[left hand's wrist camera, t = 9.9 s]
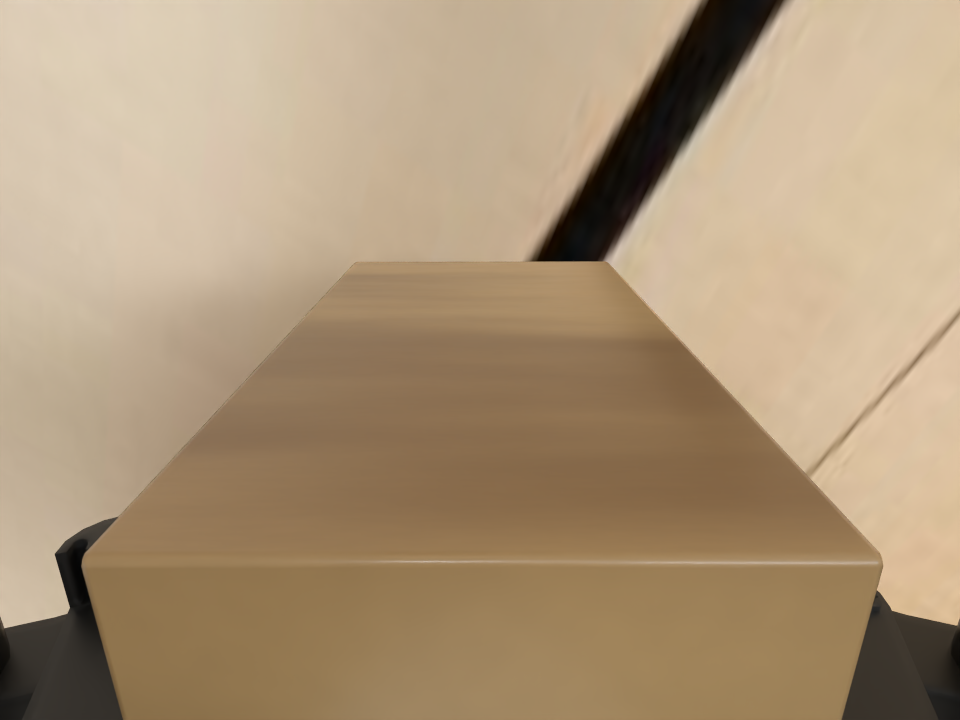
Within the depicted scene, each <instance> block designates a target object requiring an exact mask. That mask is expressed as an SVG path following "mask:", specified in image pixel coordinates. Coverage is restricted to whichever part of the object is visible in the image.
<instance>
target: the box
mask: <svg viewBox="0 0 960 720" xmlns="http://www.w3.org/2000/svg"><path fill="white" fill-rule="evenodd" d="M81 567H82V571H83V575H84V578H85V582H86V586H87V589H88V593H89V597H90V600H91V604H92V608H93V611H94V615H95V619H96V622H97V626H98V630H99V633H100V637H101V641H102V644H103V648H104V652H105V655H106V659H107V663H108V666H109V670H110V674H111V677H112V681H113V685H114V688H115V692H116V696H117V699H118V703H119V707H120V710H121V714H122V718H123V720H842V716H843V713H844V709H845V705H846V701H847V698H848V694H849V690H850V687H851V683H852V679H853V676H854V672H855V668H856V665H857V661H858V657H859V653H860V650H861V646H862V642H863V639H864V635H865V631H866V628H867V624H868V620H869V617H870V613H871V609H872V606H873V602H874V598H875V594H876V591H877V587H878V583H879V580H880V576H881V572H882V569H883V562H882V558H881V555H880V553H879V552H878V551H877V550H876V549H875V547H874V546H873V545H872V544H871V543H870V542H869V541H868V540H867V539H866V538H865V537H864V536H863V535H862V534H861V533H860V531H859V530H858V529H857V528H856V527H855V526H854V525H853V524H852V523H851V522H850V521H849V520H848V519H847V518H846V516H845V515H844V514H843V513H842V512H841V511H840V510H839V509H838V508H837V507H836V506H835V505H834V504H833V503H832V502H831V500H830V499H829V498H828V497H827V496H826V495H825V494H824V493H823V492H822V491H821V490H820V489H819V488H818V487H817V485H816V484H815V483H814V482H813V481H812V480H811V479H810V478H809V477H808V476H807V475H806V474H805V473H804V472H803V471H802V469H801V468H800V467H799V466H798V465H797V464H796V463H795V462H794V461H793V460H792V459H791V458H790V457H789V456H788V454H787V453H786V452H785V451H784V450H783V449H782V448H781V447H780V446H779V445H778V444H777V443H776V442H775V441H774V439H773V438H772V437H771V436H770V435H769V434H768V433H767V432H766V431H765V430H764V429H763V428H762V427H761V426H760V425H759V423H758V422H757V421H756V420H755V419H754V418H753V417H752V416H751V415H750V414H749V413H748V412H747V411H746V410H745V408H744V407H743V406H742V405H741V404H740V403H739V402H738V401H737V400H736V399H735V398H734V397H733V396H732V395H731V394H730V392H729V391H728V390H727V389H726V388H725V387H724V386H723V385H722V384H721V383H720V382H719V381H718V380H717V379H716V377H715V376H714V375H713V374H712V373H711V372H710V371H709V370H708V369H707V368H706V367H705V366H704V365H703V364H702V362H701V361H700V360H699V359H698V358H697V357H696V356H695V355H694V354H693V353H692V352H691V351H690V350H689V349H688V348H687V346H686V345H685V344H684V343H683V342H682V341H681V340H680V339H679V338H678V337H677V336H676V335H675V334H674V333H673V331H672V330H671V329H670V328H669V327H668V326H667V325H666V324H665V323H664V322H663V321H662V320H661V319H660V318H659V317H658V315H657V314H656V313H655V312H654V311H653V310H652V309H651V308H650V307H649V306H648V305H647V304H646V303H645V302H644V300H643V299H642V298H641V297H640V296H639V295H638V294H637V293H636V292H635V291H634V290H633V289H632V288H631V287H630V286H629V284H628V283H627V282H626V281H625V280H624V279H623V278H622V277H621V276H620V275H619V274H618V273H617V272H616V271H615V269H614V268H613V267H612V266H611V265H610V264H609V263H607V262H356V263H354V264H353V265H352V266H351V267H350V269H349V270H348V271H347V272H346V273H345V274H344V275H343V276H342V277H341V278H340V279H339V280H338V281H337V283H336V284H335V285H334V286H333V287H332V288H331V289H330V290H329V291H328V292H327V293H326V294H325V295H324V297H323V298H322V299H321V300H320V301H319V302H318V303H317V304H316V305H315V306H314V307H313V308H312V309H311V310H310V312H309V313H308V314H307V315H306V316H305V317H304V318H303V319H302V320H301V321H300V322H299V323H298V324H297V326H296V327H295V328H294V329H293V330H292V331H291V332H290V333H289V334H288V335H287V336H286V337H285V338H284V340H283V341H282V342H281V343H280V344H279V345H278V346H277V347H276V348H275V349H274V350H273V351H272V352H271V354H270V355H269V356H268V357H267V358H266V359H265V360H264V361H263V362H262V363H261V364H260V365H259V366H258V368H257V369H256V370H255V371H254V372H253V373H252V374H251V375H250V376H249V377H248V378H247V379H246V380H245V382H244V383H243V384H242V385H241V386H240V387H239V388H238V389H237V390H236V391H235V392H234V393H233V394H232V395H231V397H230V398H229V399H228V400H227V401H226V402H225V403H224V404H223V405H222V406H221V407H220V408H219V409H218V411H217V412H216V413H215V414H214V415H213V416H212V417H211V418H210V419H209V420H208V421H207V422H206V423H205V425H204V426H203V427H202V428H201V429H200V430H199V431H198V432H197V433H196V434H195V435H194V436H193V437H192V439H191V440H190V441H189V442H188V443H187V444H186V445H185V446H184V447H183V448H182V449H181V450H180V451H179V453H178V454H177V455H176V456H175V457H174V458H173V459H172V460H171V461H170V462H169V463H168V464H167V465H166V467H165V468H164V469H163V470H162V471H161V472H160V473H159V474H158V475H157V476H156V477H155V478H154V479H153V480H152V482H151V483H150V484H149V485H148V486H147V487H146V488H145V489H144V490H143V491H142V492H141V493H140V494H139V496H138V497H137V498H136V499H135V500H134V501H133V502H132V503H131V504H130V505H129V506H128V507H127V508H126V510H125V511H124V512H123V513H122V514H121V515H120V516H119V517H118V518H117V519H116V520H115V521H114V522H113V524H112V525H111V526H110V527H109V528H108V529H107V530H106V531H105V532H104V533H103V534H102V535H101V536H100V538H99V539H98V540H97V541H96V542H95V543H94V544H93V545H92V546H91V547H90V548H89V549H88V550H87V552H86V553H85V554H84V556H83V559H82V565H81Z"/></svg>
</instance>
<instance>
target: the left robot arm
mask: <svg viewBox="0 0 960 720" xmlns="http://www.w3.org/2000/svg"><path fill="white" fill-rule="evenodd" d="M117 518H118V517H116V518H112V519H108V520H104V521H102V522H99V523H97V524H95V525H92V526H90V527H87V528H85V529H83V530H81V531H80V532H78V533H77V534H75V535H74V536H72V537H71V538H70V539H68V540H67V541H65V542H64V544H63V545H62V546H61V547H60V548H59V550H58V551H57V552H56V553H55V557H56V560H57V564H58V567H59V571H60V574H61V578H62V581H63V584H64V588H65V591H66V595H67V598H68V602H69V605H70V609H69V612H68V614H65V615H62V616H58V617H55V618H50V619H45V620H41V621H36V622H32V623H27V624H22V625H18V626H13V627H9V628H4V626H3V623H2V620H1V617H0V720H123V718H122V714H121V710H120V707H119V703H118V699H117V696H116V692H115V688H114V685H113V681H112V677H111V674H110V670H109V666H108V663H107V659H106V655H105V652H104V648H103V644H102V641H101V637H100V633H99V630H98V626H97V622H96V619H95V615H94V611H93V608H92V604H91V600H90V597H89V593H88V589H87V586H86V582H85V578H84V575H83V571H82V567H81V565H82V559H83V556H84V554H85V553H86V552H87V550H88V549H89V548H90V547H91V546H92V545H93V544H94V543H95V542H96V541H97V540H98V539H99V538H100V536H101V535H102V534H103V533H104V532H105V531H106V530H107V529H108V528H109V527H110V526H111V525H112V524H113V522H114V521H115V520H116V519H117ZM842 720H960V619H959V622H958V625H957V626H955V625H950V624H946V623H941V622H937V621H932V620H927V619H923V618H918V617H913V616H909V615H905V614H901V613H898V612H894V611H892V610H891V608H890V606H889V605H888V603H887V602H886V601H885V599H884V598H883V596H882V595H881V594H880V593H879V592H878V591H876V594H875V598H874V602H873V606H872V609H871V613H870V617H869V620H868V624H867V628H866V631H865V635H864V639H863V642H862V646H861V650H860V653H859V657H858V661H857V665H856V668H855V672H854V676H853V679H852V683H851V687H850V690H849V694H848V698H847V701H846V705H845V709H844V713H843V716H842Z"/></svg>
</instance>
